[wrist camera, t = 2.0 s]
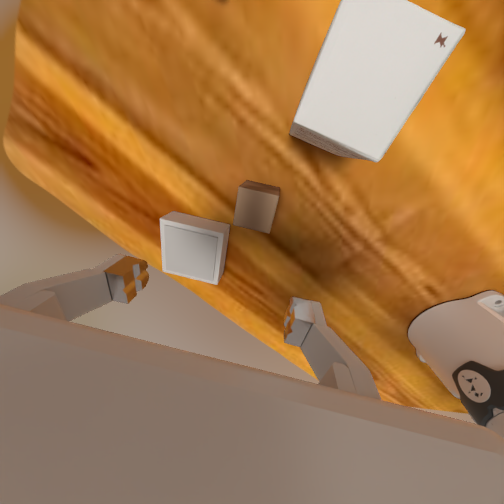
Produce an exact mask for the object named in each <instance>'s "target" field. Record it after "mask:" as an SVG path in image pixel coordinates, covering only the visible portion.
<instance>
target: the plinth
mask: <svg viewBox="0 0 504 504" xmlns="http://www.w3.org/2000/svg"><path fill="white" fill-rule="evenodd" d="M229 230H230V224H226V223H222V222H217V221H213V220H209V219H205V218H201V217H196V216H192V215H188V214H184V213H179V212H175V211H172V212H171V213H169V214H167V215H165V216H163V217H161V218H160V231H161V249H162V267H163V272H167V273H171V274H175V275H179V276H183V277H187V278H191V279H195V280H199V281H203V282H207V283H211V284H215V285H217V284H218V282H219V280H220V278H221V276H222V274H223V272H224V265H225V258H226V251H227V244H228V237H229Z"/></svg>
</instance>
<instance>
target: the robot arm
mask: <svg viewBox="0 0 504 504" xmlns="http://www.w3.org/2000/svg"><path fill="white" fill-rule="evenodd" d="M147 267H148V265H147V262H146V261H145V260H141V259H137V258H134V257H130V256H126V255H122V254H116V255H114V256H113V257H111V258H109V259H108V260H106V261H104V262H103V263H101V264H100V265H98V266H96V267H95V268H93V269H85V270H81V271H77V272H72V273H68V274H63V275H60V276H55V277H51V278H46V279H42V280H38V281H34V282H30V283H25V284H23V285H21V286H19V287H17V288H15V289H13V290H11V291H9V292H7V293H5V294H3V295H1V296H0V504H504V295H503V294H501V293H499V292H496V291H486V292H483V293H480V294H477V295H475V296H473V297H470V298H467V299H462V300H456V301H451V302H447V303H443V304H440V305H437V306H435V307H433V308H431V309H429V310H427V311H425V312H423V313H422V314H421V315H419V316H418V317H417V318H416V319H415V320H414V321H413V322H412V324H411V325H410V327H409V330H408V338H409V341H410V342H411V343H412V345H413V346H414V347H415V348H416V355H417V357H418V358H419V359H420V360H421V361H422V362H425V363H427V364H428V365H429V366H430V368H431V369H432V370H433V371H434V373H435V374H436V375H437V376H438V378H439V379H440V380H441V381H442V383H443V384H444V385H445V386H446V387H447V389H448V390H449V391H450V392H451V393H452V395H454V396H455V397H456V398H459V399H460V400H461V402H462V404H463V405H464V407H465V408H466V409H467V411H468V412H469V415H470V416H471V417H472V419H473V420H474V421H475V422H476V423H477V424H474V423H471V422H467V421H462V420H458V419H454V418H450V417H446V416H442V415H438V414H434V413H430V412H426V411H422V410H418V409H414V408H410V407H406V406H402V405H398V404H394V403H390V402H386V401H382V400H381V398H380V395H379V393H378V390H377V388H376V385H375V383H374V380H373V378H372V376H371V373H370V371H369V369H368V368H367V367H366V366H365V365H364V364H363V363H362V362H361V360H360V359H359V358H358V357H357V356H356V355H355V354H354V353H353V352H352V351H351V350H350V349H349V347H348V346H347V345H346V344H345V343H344V342H343V341H342V340H341V339H340V338H339V337H338V336H337V334H336V333H335V332H334V331H333V330H332V329H331V328H330V327H327V324H326V321H325V317H324V314H323V310H322V306H321V303H320V302H317V301H312V300H307V299H302V298H298V297H294V296H292V297H291V298H290V301H289V306H288V307H287V308H286V311H285V315H284V325H285V327H286V328H285V330H284V343H287V344H291V345H294V346H298V347H301V350H302V352H303V354H304V355H305V357H306V359H307V361H308V362H309V364H310V366H311V368H312V369H313V371H314V373H315V375H316V376H317V378H318V380H319V384H315V383H311V382H307V381H303V380H299V379H295V378H291V377H287V376H283V375H280V374H276V373H272V372H267V371H263V370H260V369H256V368H252V367H248V366H244V365H240V364H236V363H232V362H228V361H224V360H220V359H216V358H212V357H208V356H204V355H200V354H196V353H192V352H188V351H184V350H180V349H176V348H172V347H168V346H164V345H161V344H157V343H153V342H148V341H145V340H141V339H137V338H133V337H129V336H125V335H121V334H117V333H113V332H109V331H105V330H101V329H97V328H93V327H89V326H85V325H81V324H77V323H73V322H69V321H71V320H73V319H75V318H77V317H79V316H81V315H83V314H85V313H88V312H90V311H92V310H94V309H96V308H99V307H101V306H103V305H105V304H107V303H109V302H111V301H117V302H122V303H126V304H128V303H129V302H130V301H131V300H132V299H133V298H134V297H135V296H136V295H137V291H140V290H142V289H143V288H144V287H145V286H146V284H147V282H148V279H149V274H148V272H147V271H146V268H147Z"/></svg>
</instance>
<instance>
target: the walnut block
mask: <svg viewBox="0 0 504 504" xmlns="http://www.w3.org/2000/svg"><path fill="white" fill-rule="evenodd" d="M279 192H280V188H279V187H275V186H271V185H266V184H262V183H258V182H253V181H249V180H246V181H245V182H244V183H243V184H241V185H240V186H239V188H238V195H237V201H236V208H235V215H234V221H233V225H235V226H240V227H244V228H248V229H252V230H256V231H261V232H265V233H270V229H271V226H272V222H273V218H274V214H275V210H276V206H277V203H278V199H279Z"/></svg>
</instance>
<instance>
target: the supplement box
mask: <svg viewBox="0 0 504 504" xmlns="http://www.w3.org/2000/svg"><path fill="white" fill-rule="evenodd" d="M464 33H465V28H463V27H460V26H458V25H456V24H454V23H451V22H449V21H447V20H445V19H443V18H441V17H439V16H437V15H435V14H433V13H431V12H429V11H427V10H425V9H423V8H421V7H419V6H417V5H415V4H413V3H411V2H409V1H407V0H341V2H340V4H339V6H338V9H337V11H336V13H335V16H334V18H333V20H332V23H331V25H330V27H329V30H328V32H327V35H326V37H325V39H324V42H323V44H322V47H321V49H320V51H319V54H318V56H317V59H316V61H315V64H314V66H313V69H312V72H311V74H310V77H309V79H308V82H307V84H306V87H305V90H304V92H303V95H302V98H301V100H300V103H299V106H298V109H297V112H296V115H295V118H294V121H293V123H292V126H291V129H290V133H289V134H290V135H292V136H294V137H296V138H299V139H301V140H303V141H305V142H307V143H310V144H312V145H314V146H317V147H319V148H321V149H323V150H326V151H328V152H330V153H332V154H335V155H337V156H342V157H348V158H356V159H364V160H370V161H373V162H378V161H380V160H381V158H382V157H383V155H384V154H385V152H386V151H387V149H388V148H389V146H390V145H391V143H392V142H393V140H394V139H395V137H396V136H397V134H398V133H399V131H400V130H401V128H402V127H403V125H404V124H405V122H406V120H407V119H408V117H409V116H410V114H411V113H412V112H413V110H414V109H415V107H416V106H417V105H418V103H419V102H420V100H421V99H422V97H423V95H424V93H425V92H426V90H427V89H428V87H429V86H430V84H431V83H432V81H433V80H434V78H435V77H436V75H437V74H438V72H439V71H440V69H441V68H442V66H443V65H444V63H445V62H446V60H447V59H448V57H449V56H450V54H451V53H452V51H453V49H454V48H455V47H456V45H457V44H458V42H459V41H460V39H461V38H462V37H463V35H464Z"/></svg>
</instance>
